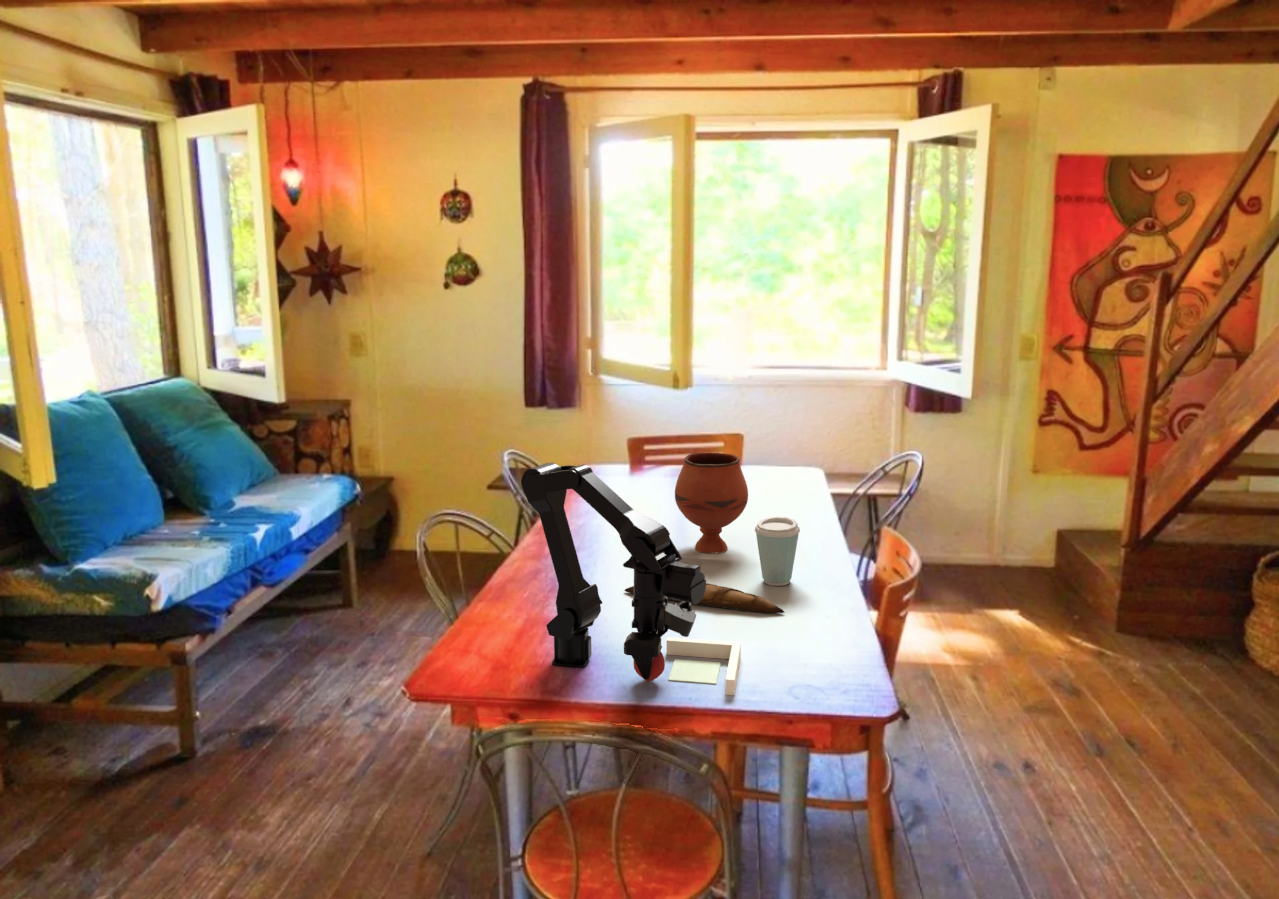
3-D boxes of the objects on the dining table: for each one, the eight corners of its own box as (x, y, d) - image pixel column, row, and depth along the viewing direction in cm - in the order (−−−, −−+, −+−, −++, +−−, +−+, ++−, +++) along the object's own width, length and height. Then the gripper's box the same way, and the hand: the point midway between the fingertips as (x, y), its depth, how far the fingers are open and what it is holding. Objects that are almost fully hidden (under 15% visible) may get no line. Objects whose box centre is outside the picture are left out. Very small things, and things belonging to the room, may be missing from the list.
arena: (654, 688, 175) (654, 673, 174) (667, 651, 191) (667, 637, 190) (734, 695, 172) (734, 680, 172) (740, 656, 188) (740, 642, 188)
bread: (620, 597, 220) (620, 576, 219) (627, 589, 225) (627, 569, 224) (782, 619, 207) (783, 598, 206) (787, 611, 212) (787, 590, 211)
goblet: (664, 541, 260) (665, 452, 254) (729, 534, 265) (731, 447, 260) (688, 563, 242) (690, 468, 236) (758, 556, 247) (760, 463, 242)
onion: (663, 674, 181) (664, 635, 179) (665, 688, 175) (665, 647, 173) (633, 674, 180) (633, 635, 179) (634, 688, 175) (634, 648, 173)
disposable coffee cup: (784, 592, 222) (786, 531, 219) (744, 582, 228) (746, 523, 225) (805, 580, 230) (808, 520, 227) (766, 570, 237) (768, 512, 233)
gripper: (686, 615, 164) (685, 698, 167) (698, 577, 182) (697, 653, 185) (623, 610, 165) (623, 693, 169) (641, 574, 183) (641, 649, 187)
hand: (649, 671), depth 177 cm, fingers closed on onion, 6 cm apart
